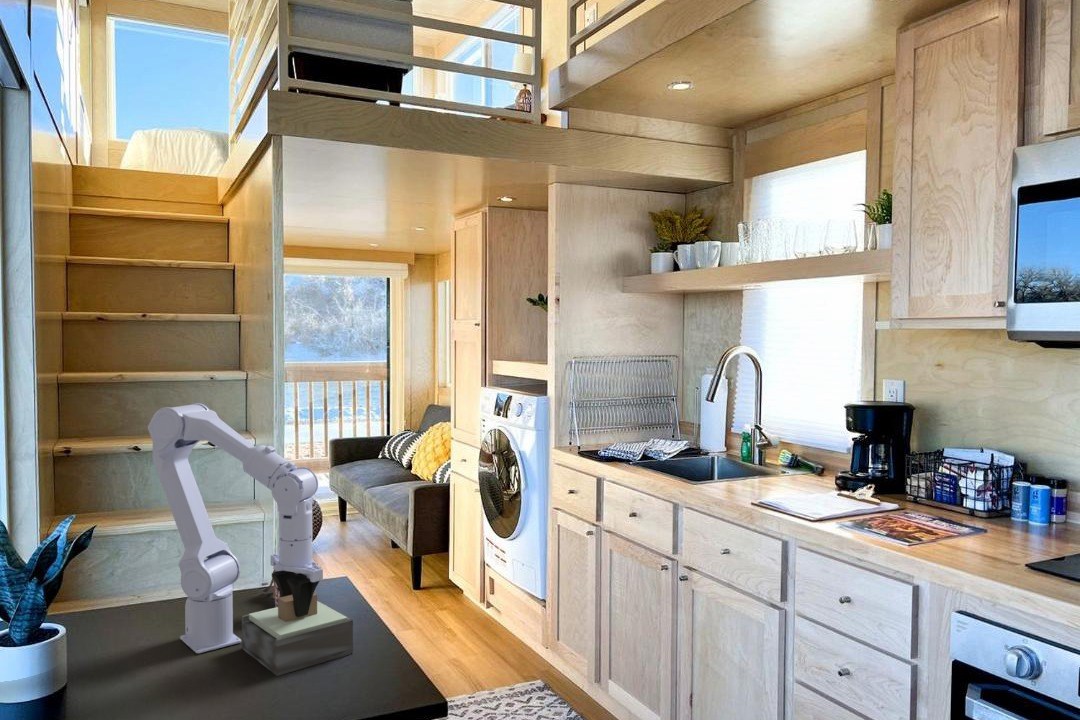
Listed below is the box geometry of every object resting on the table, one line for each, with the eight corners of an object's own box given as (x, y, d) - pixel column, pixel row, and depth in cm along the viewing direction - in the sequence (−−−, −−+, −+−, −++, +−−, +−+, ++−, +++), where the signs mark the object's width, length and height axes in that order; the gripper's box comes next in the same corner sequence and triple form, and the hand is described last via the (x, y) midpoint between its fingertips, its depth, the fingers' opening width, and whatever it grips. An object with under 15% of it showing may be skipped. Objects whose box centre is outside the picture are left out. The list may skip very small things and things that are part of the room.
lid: (248, 619, 142) (248, 594, 142) (313, 603, 151) (313, 580, 151) (280, 640, 133) (280, 614, 132) (347, 622, 141) (347, 597, 141)
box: (241, 648, 143) (241, 615, 142) (314, 629, 152) (314, 598, 152) (276, 676, 131) (276, 640, 131) (352, 653, 141) (352, 620, 141)
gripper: (254, 534, 143) (255, 608, 143) (296, 549, 133) (297, 629, 134) (290, 527, 148) (290, 598, 149) (333, 541, 138) (333, 618, 139)
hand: (296, 612), depth 141 cm, fingers closed on lid, 3 cm apart
